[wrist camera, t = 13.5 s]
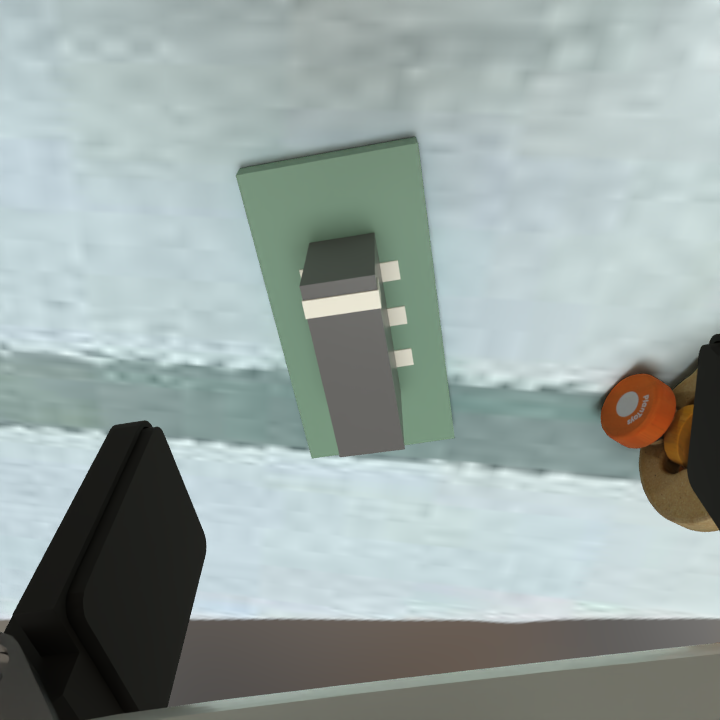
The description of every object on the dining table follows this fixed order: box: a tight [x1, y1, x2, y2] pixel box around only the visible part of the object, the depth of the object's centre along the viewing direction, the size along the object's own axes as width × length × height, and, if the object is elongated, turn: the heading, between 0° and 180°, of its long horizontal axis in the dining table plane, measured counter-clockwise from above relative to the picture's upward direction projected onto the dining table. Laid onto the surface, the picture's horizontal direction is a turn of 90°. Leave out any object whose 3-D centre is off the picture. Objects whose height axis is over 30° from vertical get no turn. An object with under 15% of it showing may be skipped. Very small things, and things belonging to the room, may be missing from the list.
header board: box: [236, 137, 454, 458], centre depth 39 cm, size 20×10×6 cm, turn 10°
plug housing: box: [299, 233, 405, 457], centre depth 38 cm, size 11×4×6 cm, turn 10°
